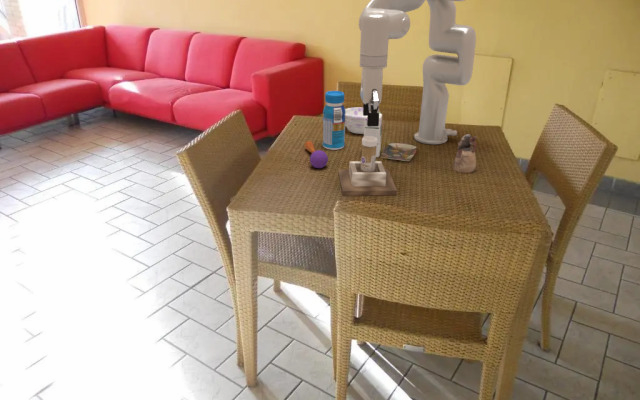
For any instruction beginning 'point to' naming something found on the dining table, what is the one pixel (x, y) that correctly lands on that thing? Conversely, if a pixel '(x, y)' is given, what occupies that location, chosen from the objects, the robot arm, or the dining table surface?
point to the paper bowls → (355, 120)
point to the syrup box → (374, 132)
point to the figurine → (465, 155)
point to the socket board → (366, 180)
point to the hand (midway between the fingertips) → (370, 120)
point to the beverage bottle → (334, 121)
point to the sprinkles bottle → (368, 154)
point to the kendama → (316, 156)
